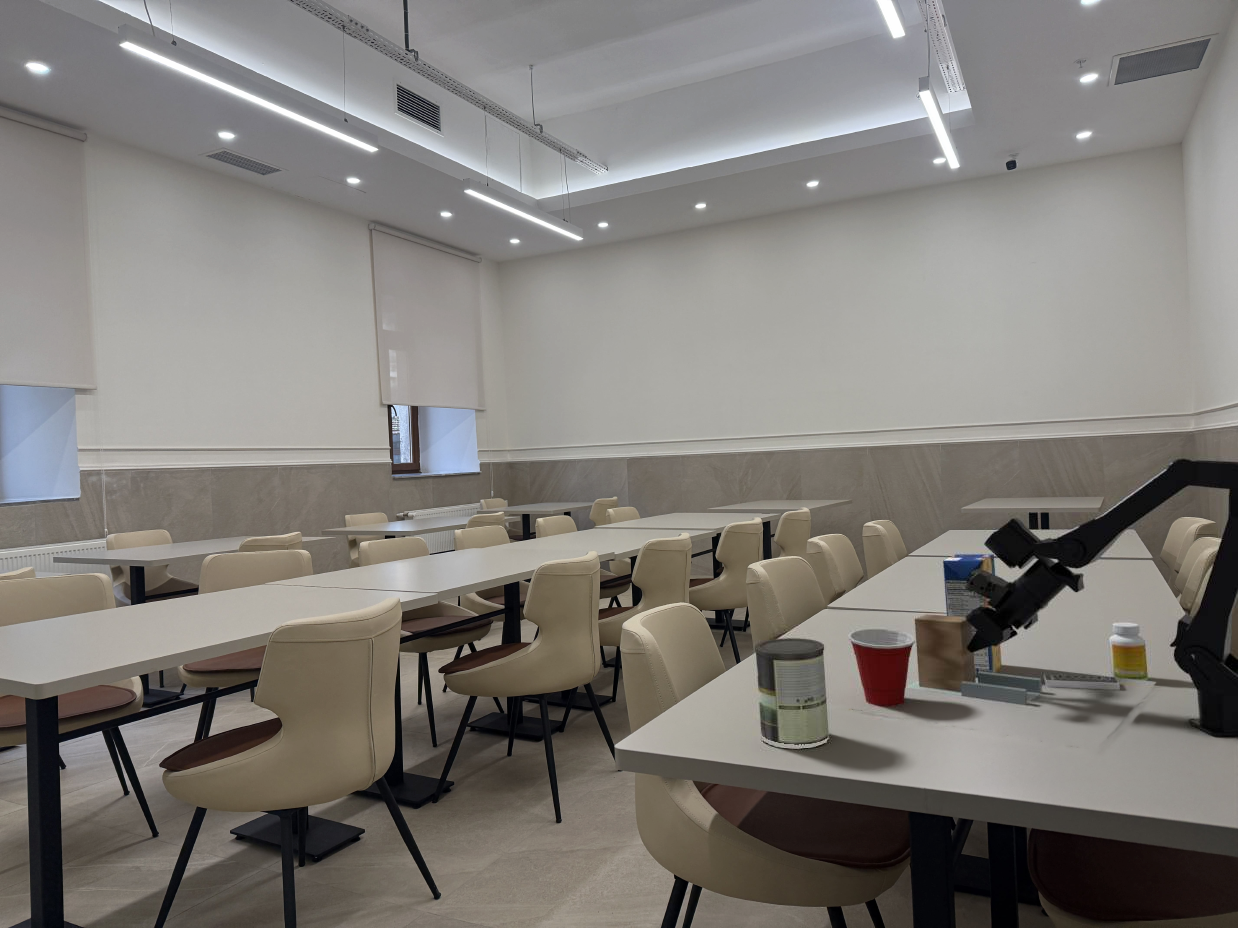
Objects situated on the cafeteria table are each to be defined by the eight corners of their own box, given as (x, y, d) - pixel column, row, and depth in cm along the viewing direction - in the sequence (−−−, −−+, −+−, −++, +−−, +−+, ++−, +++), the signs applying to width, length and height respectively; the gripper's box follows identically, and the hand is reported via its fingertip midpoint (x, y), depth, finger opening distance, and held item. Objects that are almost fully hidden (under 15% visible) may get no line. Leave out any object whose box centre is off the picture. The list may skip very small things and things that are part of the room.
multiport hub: (1120, 697, 132) (1119, 683, 132) (1046, 693, 136) (1045, 680, 136) (1116, 690, 136) (1115, 676, 136) (1044, 686, 140) (1043, 673, 140)
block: (976, 686, 139) (971, 617, 139) (965, 692, 135) (960, 622, 136) (930, 680, 144) (926, 614, 145) (919, 686, 141) (914, 618, 141)
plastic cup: (876, 719, 127) (871, 643, 127) (840, 701, 137) (835, 632, 137) (934, 710, 130) (929, 636, 130) (894, 693, 140) (890, 625, 140)
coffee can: (748, 742, 119) (741, 648, 120) (780, 723, 127) (774, 635, 128) (811, 754, 113) (804, 655, 113) (841, 733, 121) (835, 641, 121)
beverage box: (951, 678, 148) (942, 560, 148) (964, 665, 157) (956, 554, 157) (990, 682, 144) (982, 560, 144) (1001, 668, 153) (993, 554, 153)
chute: (1042, 696, 133) (1041, 678, 133) (1025, 709, 127) (1024, 690, 127) (925, 680, 147) (924, 664, 147) (904, 692, 141) (903, 675, 141)
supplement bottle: (1153, 683, 137) (1149, 626, 137) (1119, 683, 138) (1115, 627, 139) (1140, 675, 143) (1135, 621, 143) (1107, 675, 144) (1103, 621, 144)
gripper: (1013, 548, 140) (954, 606, 148) (974, 560, 127) (912, 623, 134) (1066, 595, 135) (1002, 653, 142) (1031, 613, 121) (962, 676, 129)
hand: (969, 650), depth 137 cm, fingers closed, pressing on block
